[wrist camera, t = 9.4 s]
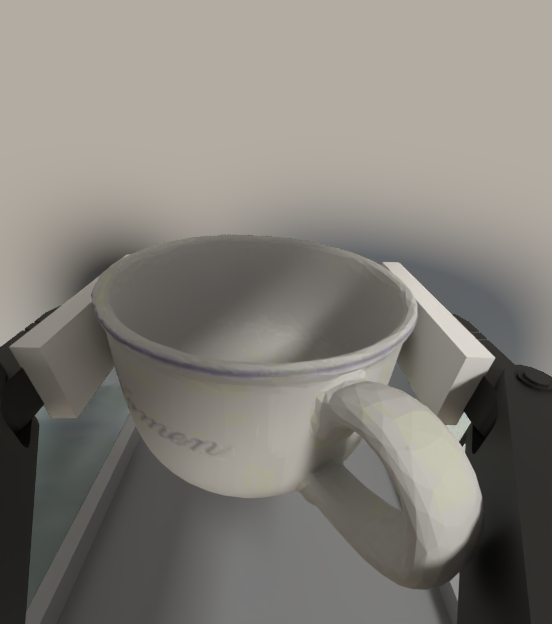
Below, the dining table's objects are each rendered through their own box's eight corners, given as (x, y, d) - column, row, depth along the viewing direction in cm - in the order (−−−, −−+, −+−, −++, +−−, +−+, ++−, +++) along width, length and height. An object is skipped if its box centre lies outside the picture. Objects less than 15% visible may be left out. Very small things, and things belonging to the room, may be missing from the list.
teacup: (157, 358, 17) (125, 229, 13) (318, 335, 20) (334, 222, 16) (103, 776, 6) (-248, 806, 2) (492, 598, 9) (712, 443, 4)
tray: (387, 430, 27) (393, 414, 26) (533, 807, 12) (567, 813, 11) (138, 427, 27) (132, 409, 25) (-45, 815, 11) (-85, 823, 10)
